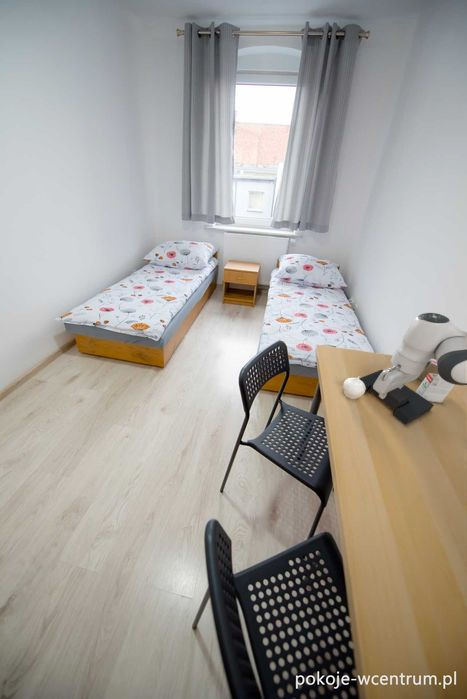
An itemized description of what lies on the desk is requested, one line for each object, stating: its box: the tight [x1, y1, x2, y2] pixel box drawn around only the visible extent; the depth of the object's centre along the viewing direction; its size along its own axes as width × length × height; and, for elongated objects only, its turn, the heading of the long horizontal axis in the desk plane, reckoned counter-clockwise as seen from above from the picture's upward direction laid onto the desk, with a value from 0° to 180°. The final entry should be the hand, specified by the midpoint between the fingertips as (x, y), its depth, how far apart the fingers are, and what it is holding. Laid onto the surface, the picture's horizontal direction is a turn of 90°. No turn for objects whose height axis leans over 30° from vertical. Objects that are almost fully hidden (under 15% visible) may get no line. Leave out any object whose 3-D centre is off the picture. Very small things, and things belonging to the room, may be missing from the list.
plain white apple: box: [342, 375, 366, 400], centre depth 93 cm, size 7×7×8 cm
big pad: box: [359, 369, 435, 426], centre depth 96 cm, size 20×14×3 cm
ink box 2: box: [415, 373, 456, 404], centre depth 94 cm, size 4×8×15 cm, turn 85°
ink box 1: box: [417, 359, 438, 382], centre depth 106 cm, size 10×4×8 cm, turn 48°
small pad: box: [368, 381, 410, 411], centre depth 93 cm, size 10×6×4 cm, turn 31°
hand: (388, 394), depth 93 cm, fingers closed on small pad, 6 cm apart
